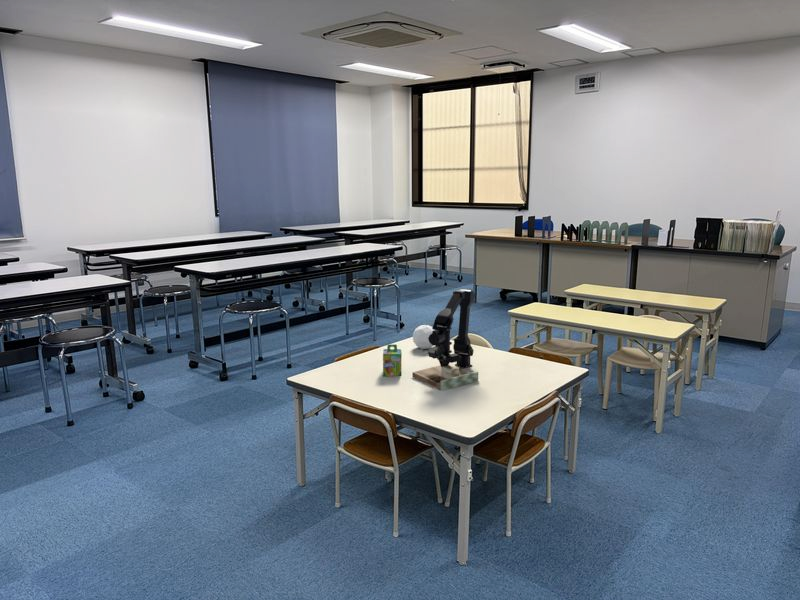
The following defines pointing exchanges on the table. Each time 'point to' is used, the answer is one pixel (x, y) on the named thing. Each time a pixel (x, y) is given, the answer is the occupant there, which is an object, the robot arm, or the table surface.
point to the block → (449, 371)
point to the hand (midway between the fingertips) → (443, 371)
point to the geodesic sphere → (422, 336)
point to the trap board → (436, 380)
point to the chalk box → (392, 361)
